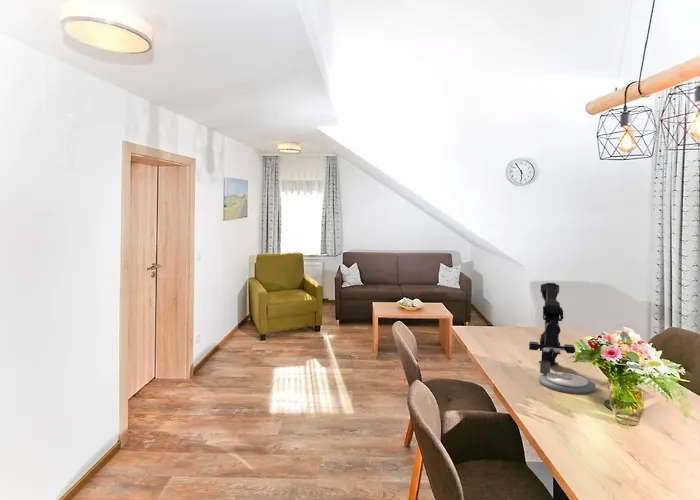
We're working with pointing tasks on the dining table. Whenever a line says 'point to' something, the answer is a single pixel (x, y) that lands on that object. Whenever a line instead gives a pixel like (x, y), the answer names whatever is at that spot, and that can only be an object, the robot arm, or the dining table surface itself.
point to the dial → (562, 377)
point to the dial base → (575, 390)
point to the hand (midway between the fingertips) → (551, 366)
